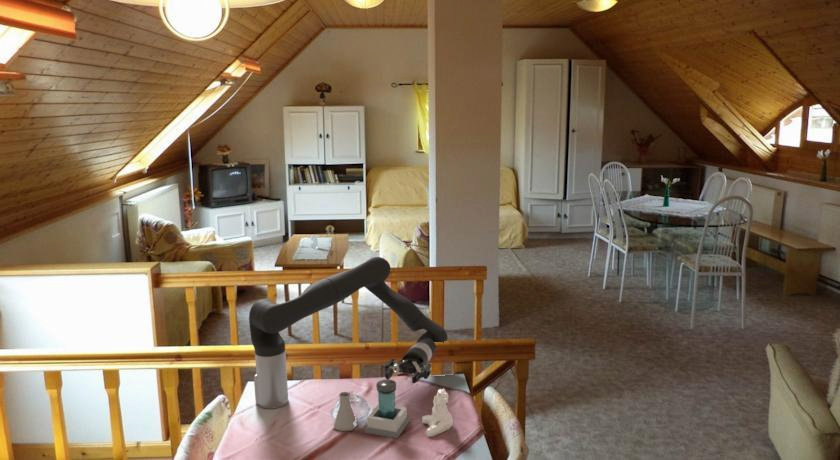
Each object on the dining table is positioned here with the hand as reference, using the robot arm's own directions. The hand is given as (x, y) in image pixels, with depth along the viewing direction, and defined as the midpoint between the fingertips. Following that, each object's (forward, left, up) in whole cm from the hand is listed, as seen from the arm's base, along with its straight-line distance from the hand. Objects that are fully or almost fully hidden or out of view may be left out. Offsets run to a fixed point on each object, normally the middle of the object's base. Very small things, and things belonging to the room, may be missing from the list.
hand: (400, 378), depth 191 cm
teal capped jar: (0, -11, -9) cm, 14 cm away
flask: (-12, -14, -10) cm, 21 cm away
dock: (0, -11, -10) cm, 15 cm away
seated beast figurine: (+14, -7, -10) cm, 19 cm away
